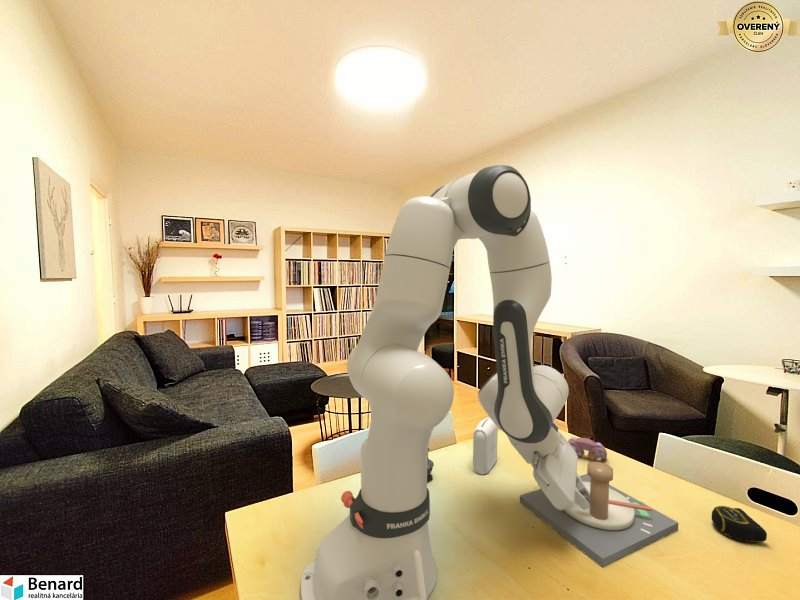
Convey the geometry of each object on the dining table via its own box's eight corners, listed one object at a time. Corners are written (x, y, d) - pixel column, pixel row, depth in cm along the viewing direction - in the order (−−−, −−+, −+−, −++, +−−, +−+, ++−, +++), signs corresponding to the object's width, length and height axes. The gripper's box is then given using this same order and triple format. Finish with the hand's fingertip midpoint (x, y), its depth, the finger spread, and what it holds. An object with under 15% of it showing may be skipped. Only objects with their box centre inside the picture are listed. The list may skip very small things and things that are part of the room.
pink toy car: (566, 459, 103) (564, 441, 100) (569, 446, 106) (567, 429, 103) (606, 469, 97) (605, 451, 94) (607, 455, 100) (607, 437, 98)
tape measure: (768, 548, 67) (769, 529, 66) (724, 542, 68) (725, 523, 68) (743, 524, 73) (744, 506, 73) (703, 519, 75) (704, 501, 75)
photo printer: (483, 455, 102) (484, 412, 101) (499, 459, 100) (499, 415, 99) (470, 472, 93) (471, 425, 92) (487, 477, 91) (487, 428, 90)
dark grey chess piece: (432, 485, 87) (432, 436, 87) (408, 482, 89) (408, 434, 88) (435, 472, 93) (435, 427, 92) (412, 470, 94) (412, 425, 94)
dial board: (602, 567, 62) (602, 557, 62) (519, 502, 81) (519, 494, 81) (678, 529, 72) (678, 521, 71) (588, 479, 90) (588, 472, 90)
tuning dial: (560, 521, 72) (561, 466, 71) (556, 482, 85) (557, 436, 84) (662, 542, 66) (665, 483, 65) (640, 497, 79) (642, 448, 78)
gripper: (543, 457, 66) (602, 527, 62) (554, 418, 84) (599, 470, 80) (517, 474, 68) (572, 542, 64) (533, 432, 86) (576, 483, 82)
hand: (587, 501), depth 72 cm, fingers closed
